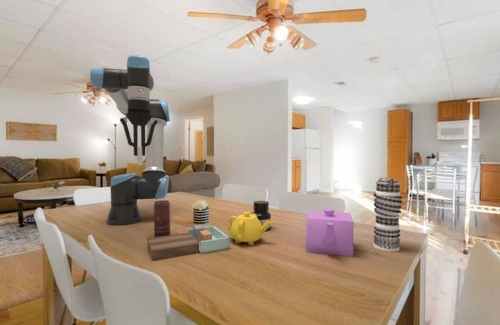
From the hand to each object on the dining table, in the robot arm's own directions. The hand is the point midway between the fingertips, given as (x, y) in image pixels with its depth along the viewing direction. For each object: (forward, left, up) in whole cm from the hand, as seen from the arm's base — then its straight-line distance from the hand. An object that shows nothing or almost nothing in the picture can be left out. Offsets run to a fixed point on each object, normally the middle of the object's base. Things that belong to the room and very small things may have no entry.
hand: (139, 164), depth 96 cm
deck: (+11, +10, -29) cm, 33 cm away
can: (-7, +9, -30) cm, 32 cm away
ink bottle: (+3, +50, -30) cm, 58 cm away
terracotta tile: (+15, +19, -26) cm, 36 cm away
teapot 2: (+35, +59, -30) cm, 75 cm away
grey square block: (+7, +19, -26) cm, 33 cm away
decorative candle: (+44, +79, -30) cm, 95 cm away
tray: (+11, +22, -29) cm, 39 cm away
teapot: (+15, +38, -30) cm, 51 cm away
